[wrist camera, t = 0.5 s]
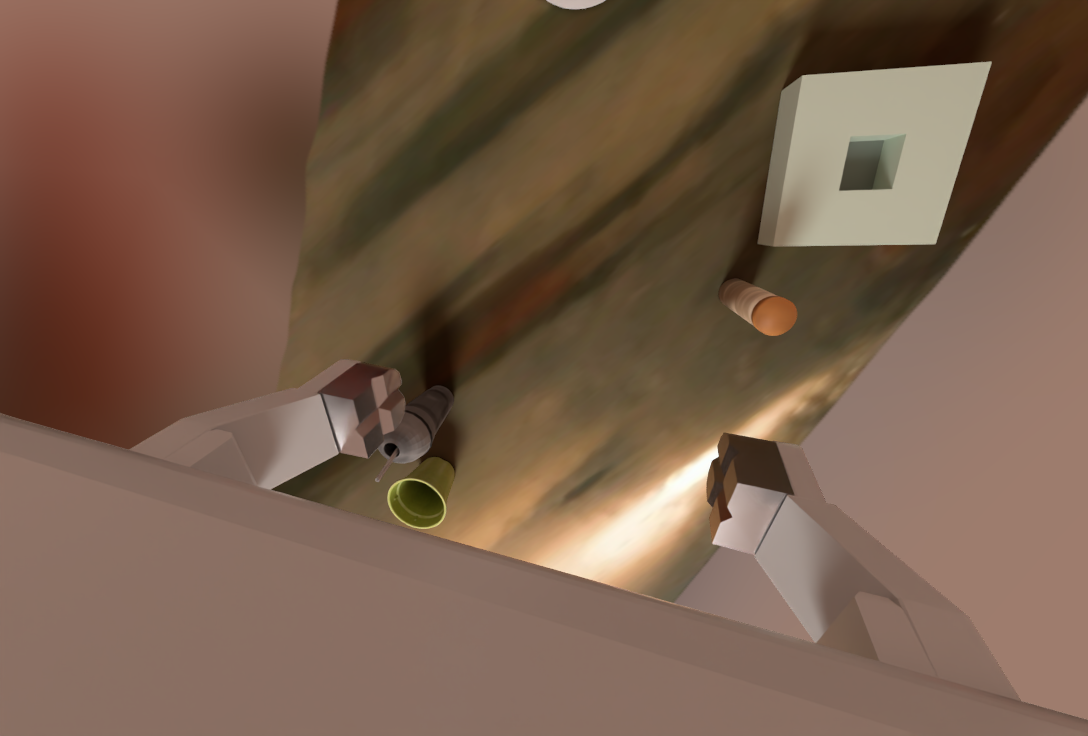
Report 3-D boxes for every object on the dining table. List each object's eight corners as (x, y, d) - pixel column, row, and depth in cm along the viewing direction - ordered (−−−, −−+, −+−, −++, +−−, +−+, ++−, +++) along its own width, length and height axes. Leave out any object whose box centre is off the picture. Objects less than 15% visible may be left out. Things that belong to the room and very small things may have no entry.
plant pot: (450, 442, 66) (429, 472, 58) (473, 487, 69) (455, 523, 60) (404, 454, 68) (376, 485, 60) (427, 498, 71) (404, 533, 63)
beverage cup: (446, 370, 61) (377, 435, 43) (470, 408, 63) (413, 487, 45) (410, 387, 63) (328, 457, 45) (434, 424, 65) (365, 506, 47)
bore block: (781, 90, 43) (802, 75, 39) (948, 79, 41) (991, 61, 36) (757, 243, 49) (773, 246, 44) (902, 241, 46) (935, 244, 42)
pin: (720, 278, 51) (758, 297, 38) (750, 278, 50) (800, 298, 37) (716, 306, 52) (752, 335, 39) (746, 306, 51) (792, 336, 38)
